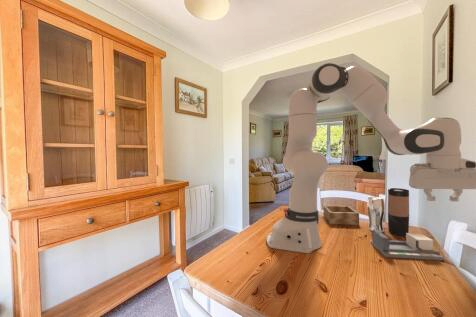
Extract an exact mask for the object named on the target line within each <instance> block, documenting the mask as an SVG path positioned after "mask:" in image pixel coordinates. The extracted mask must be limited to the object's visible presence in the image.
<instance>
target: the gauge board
mask: <svg viewBox="0 0 476 317" xmlns="http://www.w3.org/2000/svg"><path fill="white" fill-rule="evenodd" d="M370 244H371V245H372V246H373V247H374V248H375V249H376V250H378V252H379V253H381V254H382V256H384V257H385V258H396V259H397V258H398V259H400V258H401V259H413V260H431V261H444V260H445V259H444V257H445V256H443V255H441V254H440V251H439V249H438V250H434V249H433V250H423V251H420V250H418V249H413V248H411V247H410V246H408V245H407V244H406V240H390V239H389V252H383V248H382V250H381V249H380V248H379V247H378V246H376V245H375V244H374V240H373V239H372V240H370Z"/></svg>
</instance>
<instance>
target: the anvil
mask: <svg viewBox="0 0 476 317" xmlns="http://www.w3.org/2000/svg"><path fill="white" fill-rule="evenodd" d="M372 240H374V244H375V245H376V246H378V247H379V248H380V249H381V250H382V248H383V252H389V240H390V237H388V236H387V235H386V234H385V233H383V232H380V231H379V230H373V231H372Z"/></svg>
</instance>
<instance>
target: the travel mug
mask: <svg viewBox="0 0 476 317" xmlns="http://www.w3.org/2000/svg"><path fill="white" fill-rule="evenodd" d="M387 224H388V228H387V229H388V233H389V234H391V235H395V236H399V237H406V233H410V232H409V227H410V190H409V189H406V188H396V187H395V188H394V187H392V188H388V189H387Z"/></svg>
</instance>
